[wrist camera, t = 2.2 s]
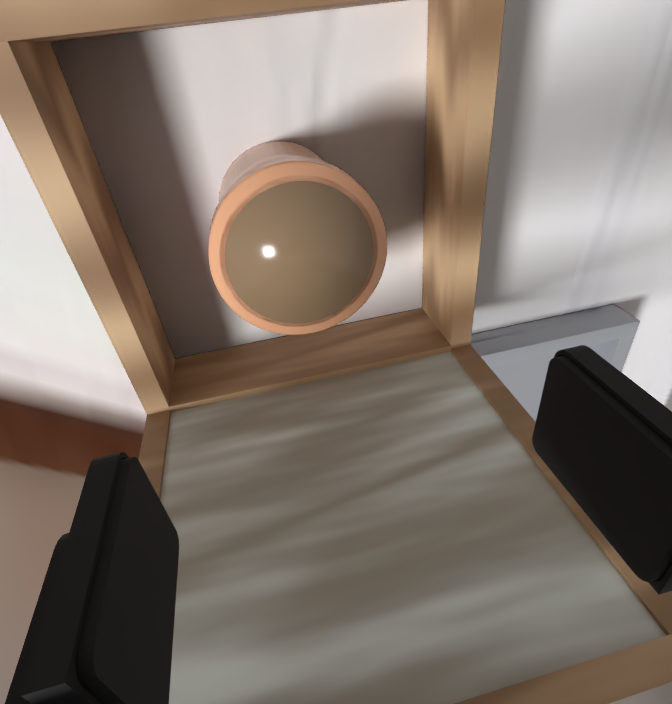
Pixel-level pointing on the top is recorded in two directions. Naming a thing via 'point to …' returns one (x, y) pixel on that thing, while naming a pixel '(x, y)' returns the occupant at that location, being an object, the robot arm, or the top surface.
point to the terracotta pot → (294, 240)
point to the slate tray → (552, 347)
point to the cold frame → (347, 436)
